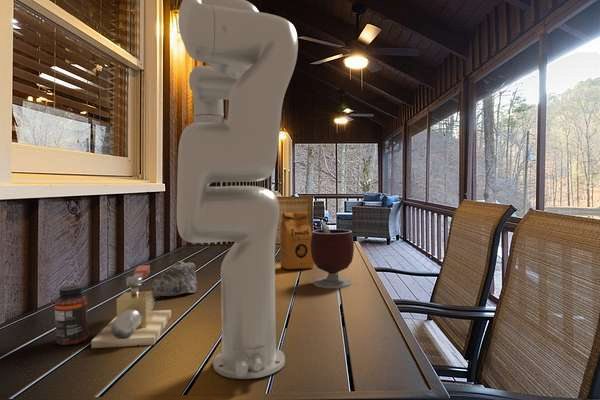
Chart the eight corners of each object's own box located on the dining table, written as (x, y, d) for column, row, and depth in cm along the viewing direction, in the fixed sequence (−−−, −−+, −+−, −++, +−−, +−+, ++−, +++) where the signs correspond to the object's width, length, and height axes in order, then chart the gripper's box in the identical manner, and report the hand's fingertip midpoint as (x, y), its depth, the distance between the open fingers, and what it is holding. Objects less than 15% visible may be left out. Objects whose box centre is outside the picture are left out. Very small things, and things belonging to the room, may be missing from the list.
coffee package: (316, 269, 159) (316, 212, 158) (285, 272, 155) (284, 213, 154) (308, 265, 168) (307, 210, 168) (278, 267, 164) (277, 211, 164)
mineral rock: (150, 301, 117) (149, 265, 117) (155, 291, 128) (154, 259, 128) (197, 297, 120) (197, 263, 120) (198, 289, 131) (197, 257, 130)
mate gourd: (362, 286, 131) (361, 222, 131) (322, 290, 126) (321, 224, 126) (339, 276, 146) (339, 219, 145) (302, 280, 141) (302, 221, 140)
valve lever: (141, 286, 91) (140, 278, 91) (125, 287, 91) (125, 279, 90) (151, 272, 107) (151, 265, 107) (137, 272, 106) (137, 265, 106)
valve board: (154, 344, 84) (154, 337, 84) (91, 348, 83) (91, 340, 83) (171, 316, 103) (171, 309, 103) (120, 318, 101) (120, 312, 101)
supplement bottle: (81, 333, 91) (79, 282, 91) (93, 339, 87) (92, 286, 87) (51, 341, 86) (49, 287, 86) (63, 348, 83) (61, 292, 82)
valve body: (138, 338, 84) (137, 296, 83) (107, 339, 83) (106, 297, 83) (158, 310, 102) (157, 276, 102) (133, 311, 102) (132, 277, 101)
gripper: (238, 126, 113) (239, 194, 113) (180, 126, 110) (182, 195, 110) (238, 122, 105) (239, 195, 106) (177, 121, 103) (178, 196, 103)
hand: (210, 195), depth 108 cm, fingers closed
